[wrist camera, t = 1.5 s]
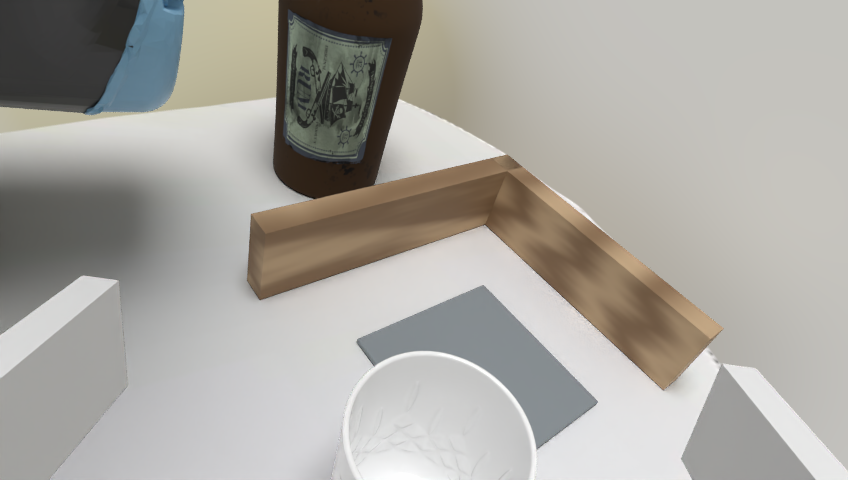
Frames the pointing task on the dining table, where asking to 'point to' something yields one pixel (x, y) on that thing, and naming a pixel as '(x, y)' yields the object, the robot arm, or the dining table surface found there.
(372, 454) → the white cup
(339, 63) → the brown bottle
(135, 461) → the dining table surface
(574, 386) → the slate mat
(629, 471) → the dining table surface
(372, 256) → the corner pen
